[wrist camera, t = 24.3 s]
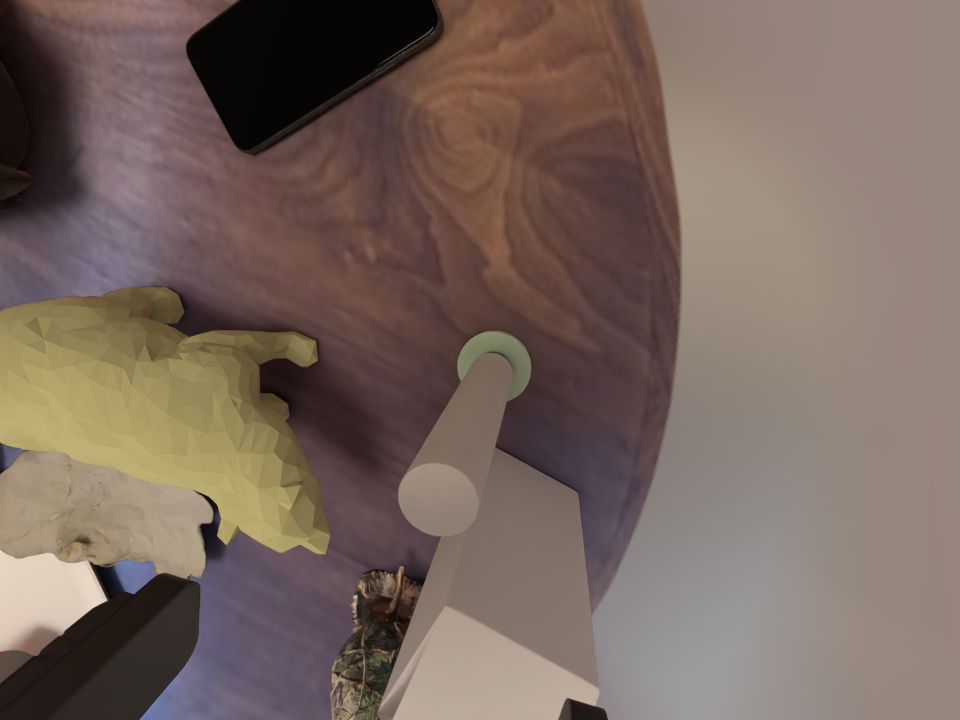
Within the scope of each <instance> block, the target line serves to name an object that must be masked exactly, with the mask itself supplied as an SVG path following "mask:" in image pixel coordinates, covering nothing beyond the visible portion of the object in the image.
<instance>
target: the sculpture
mask: <svg viewBox="0 0 960 720" xmlns="http://www.w3.org/2000/svg"><path fill="white" fill-rule="evenodd" d="M183 314H184V309H183V306H182V304H181V301H180V298H179V295H178V294H176V293H175V292H173V291H171V290H170V289H168V288H166V287H137V288H125V289H117V290H114V291H111V292H108V293H106V294H104V295H103V296H101V297H95V296H88V297H76V296H68V297H64V298H60V299H55V300H46V301H39V302H33V303H28V304H23V305H18V306H14V307H10V308H6V309H3V310H1V311H0V443H2V444H5V445H7V446H11V447H16V448H21V449H26V450H34V451H44V452H61V453H66V454H67V455H68V456H70V457H71V458H73V459H76V460H79V461H82V462H85V463H89V464H94V465H99V466H104V467H108V468H109V467H116V468H117V469H118V470H120V471H122V472H124V473H127V474H129V475H131V476H133V477H136V478H139V479H142V480H145V481H149V482H152V483H158V484H165V485H167V486H170V487H174V488H179V489H186V490H195V491H197V492H200V493H202V494H205V495H207V496H209V497H210V498H211V499H212V500H213V501H214V502H215V503H216V504H217V505H218V509H219V512H220V516H221V522H220V526H219V530H218V534H217V536H218V537H219V538H220V539H221V540H222V541H223V542H224V543H225V544H226V545H228V543H229V542H230V541H231V540H232V538H233V537H234V536H235V535H236V533H237V532H238V531H239V530H241V531H242V532H244V533H245V534H247V535H249V536H250V537H252V538H253V539H255V540H256V541H258V542H260V543H262V544H264V545H266V546H268V547H270V548H272V549H274V550H276V551H278V552H280V553H283V552H285V551H287V550H289V549H291V548H293V547H295V546H297V545H299V544H300V545H302V546H304V547H306V548H308V549H309V550H311V551H313V552H315V553H316V554H325V553H326V550H327V546H328V542H329V539H330V528H329V524H328V522H327V519H326V517H325V515H324V512H323V507H322V493H321V482H320V481H319V479H318V478H317V476H316V475H315V473H314V472H313V470H312V468H311V466H310V464H309V462H308V460H307V458H306V456H305V454H304V452H303V450H302V449H301V447H300V445H299V442H298V440H297V437H296V435H295V433H294V432H293V431H292V429H291V428H290V427H289V425H288V424H287V423H286V422H285V420H286V419H287V418H288V417H289V416H290V415H289V407H288V404H287V403H286V402H284V401H283V400H281V399H280V398H278V397H277V396H275V395H274V394H273V393H260V374H259V366H258V365H260V364H262V363H264V362H267V361H269V360H271V359H275V358H287V359H289V360H291V361H292V362H294V363H296V364H297V365H299V366H302V367H308V366H310V365H311V364H313V363H315V362H316V361H318V355H317V345H316V341H315V340H313V339H310V338H308V337H306V336H304V335H302V334H299V333H297V332H295V331H289V332H281V333H279V332H263V331H238V330H216V331H210V332H206V333H202V334H198V335H195V336H191V337H188V336H186V335H185V334H183V333H181V332H180V331H178V330H177V329H175V328H173V327H170V326H168V325H165V324H173V323H178V322H179V320H180V319H181V317H182V315H183Z"/></svg>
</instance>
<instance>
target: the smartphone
mask: <svg viewBox="0 0 960 720" xmlns="http://www.w3.org/2000/svg"><path fill="white" fill-rule="evenodd" d="M441 27H442V19H441V14H440V11H439V9H438V6H437V4H436V2H435V0H238V1H237V2H235V3H234V4H233V5H231V6H230V7H229V8H227V9H226V10H225V11H223V12H222V13H221V14H219V15H218V16H217V17H215V18H214V19H213V20H211V21H210V22H209V23H207V24H206V25H205V26H203V27H202V28H201V29H199V30H198V31H197V32H195V33H194V34H193V35H192V36H191V37H190V38H189V39H188V41H187V44H186V53H187V56H188V59H189V61H190V63H191V65H192V67H193V69H194V70H195V72H196V74H197V76H198V78H199V80H200V82H201V84H202V85H203V87H204V89H205V91H206V93H207V95H208V97H209V99H210V100H211V102H212V104H213V106H214V108H215V110H216V112H217V113H218V115H219V117H220V119H221V121H222V123H223V125H224V126H225V128H226V130H227V132H228V134H229V136H230V138H231V139H232V141H233V143H234V145H235V146H236V147H237V148H238V149H239V150H240V151H241V152H243V153H246V154H254V153H256V152H258V151H260V150H262V149H263V148H265V147H266V146H268V145H270V144H271V143H273V142H274V141H276V140H278V139H279V138H281V137H282V136H284V135H285V134H287V133H289V132H290V131H292V130H293V129H295V128H296V127H298V126H300V125H301V124H303V123H304V122H306V121H307V120H309V119H311V118H312V117H314V116H315V115H317V114H319V113H320V112H322V111H323V110H325V109H326V108H328V107H330V106H331V105H333V104H334V103H336V102H337V101H339V100H341V99H342V98H344V97H345V96H347V95H348V94H350V93H352V92H353V91H355V90H356V89H358V88H360V87H361V86H363V85H364V84H366V83H367V82H369V81H371V80H372V79H374V78H376V77H378V76H379V75H381V74H382V73H384V72H385V71H387V70H389V69H390V68H392V67H393V66H395V65H396V64H397V63H399V62H401V61H402V60H404V59H405V58H407V57H408V56H410V55H412V54H413V53H415V52H416V51H418V50H419V49H421V48H423V47H424V46H426V45H427V44H429V43H430V42H432V41H433V40H434V39H435V38H436V37H437V36H438V35H439V33H440V31H441Z"/></svg>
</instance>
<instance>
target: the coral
mask: <svg viewBox="0 0 960 720" xmlns="http://www.w3.org/2000/svg"><path fill="white" fill-rule="evenodd" d="M213 518H214V512H213V508H212V506H211V505H210V503H209V502H208V501H207V500H206V498H205V497H203V496H202V495H200V494H199V493H197V492H196V491H195V490H186V489H179V488H174V487H170V486H167V485H165V484H158V483H152V482H149V481H145V480H142V479H139V478H136V477H133V476H131V475H129V474H127V473H124V472H122V471H120V470H118V469H117V468H116V467H109V468H108V467H104V466H99V465H94V464H89V463H85V462H82V461H79V460H76V459H73V458H71V457H70V456H68V455H67V454H66V453H61V452H44V451H34V450H25V451H24V452H23V453H21V454H20V455H19V456H18V457H17V459H16V460H15V461H14V462H13V463H12V465H11V466H10V467H9V468H7V469H6V470H5V471H4V472H3V473H2V474H0V550H1V551H3V552H4V553H5V554H7V555H10V556H13V557H14V558H15V559H19V558H25V557H28V556H35V555H39V554H44V553H52V554H54V555H55V556H56V557H57V559H58V560H60V561H63V562H66V563H78V562H82V561H86V560H87V561H90V562H93V564H95V565H100V566H102V567H111V566H114V565H115V564H116V563H117V562H118V561H122V560H133V561H136V562H147V561H152V562H153V564H154V569H155V571H156V574H157V575H159V574H161V573H169V574H172V575H175V576H178V577H182V578H185V579H188V580H189V579H190V577H189V575H190V574H191V575H192V576H194V577H197V578H200V577H202V572H203V571H204V569H205V568H206V566H207V555H206V552H205V542H204V538H203V535H202V533H201V528H199V526H200V525H201V524H203V523H205V524H209V523H211V522H212V520H213Z"/></svg>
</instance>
